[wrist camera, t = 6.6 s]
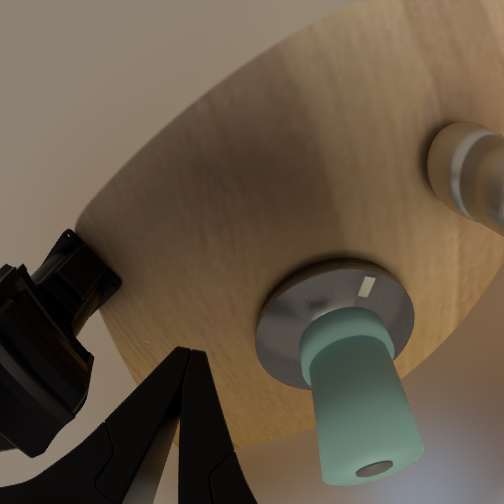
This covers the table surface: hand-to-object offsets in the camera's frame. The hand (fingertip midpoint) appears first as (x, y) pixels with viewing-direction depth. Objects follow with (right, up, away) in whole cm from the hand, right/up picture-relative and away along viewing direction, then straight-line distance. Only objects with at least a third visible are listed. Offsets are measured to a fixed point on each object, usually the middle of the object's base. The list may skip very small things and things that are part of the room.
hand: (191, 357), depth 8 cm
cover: (+9, -4, +14) cm, 17 cm away
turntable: (+9, -3, +15) cm, 17 cm away
